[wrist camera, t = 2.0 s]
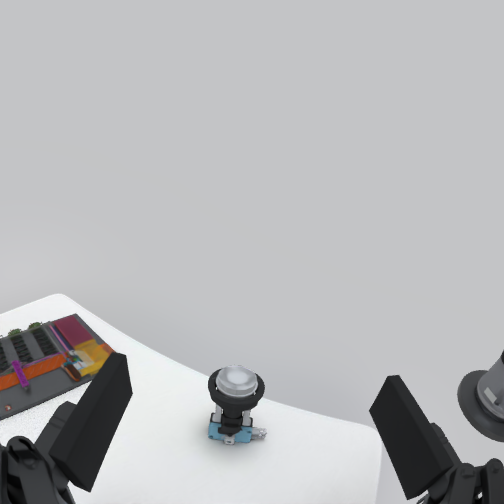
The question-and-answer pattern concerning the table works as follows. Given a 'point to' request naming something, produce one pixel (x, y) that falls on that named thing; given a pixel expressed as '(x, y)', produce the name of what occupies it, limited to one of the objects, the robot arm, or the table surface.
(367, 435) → the table surface
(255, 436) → the push button
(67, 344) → the circuit board
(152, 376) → the table surface
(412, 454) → the robot arm
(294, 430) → the table surface
